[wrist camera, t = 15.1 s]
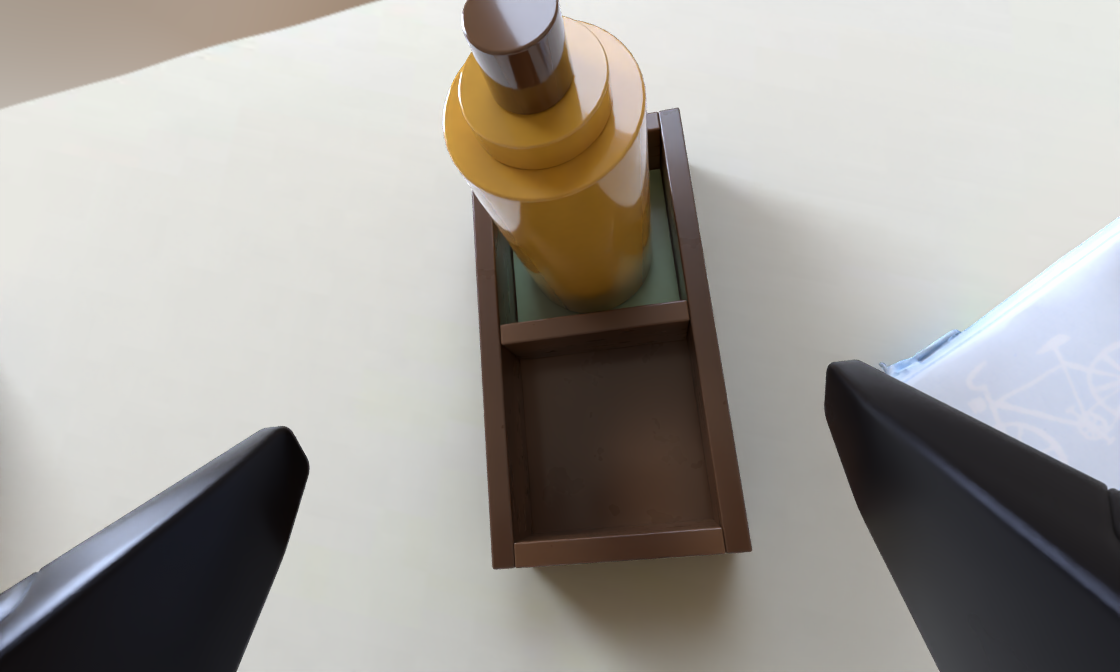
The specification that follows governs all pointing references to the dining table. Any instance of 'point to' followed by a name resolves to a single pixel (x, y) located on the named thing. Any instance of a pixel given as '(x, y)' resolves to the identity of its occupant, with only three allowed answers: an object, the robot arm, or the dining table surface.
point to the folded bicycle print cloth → (1042, 361)
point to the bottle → (556, 148)
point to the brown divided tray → (609, 400)
